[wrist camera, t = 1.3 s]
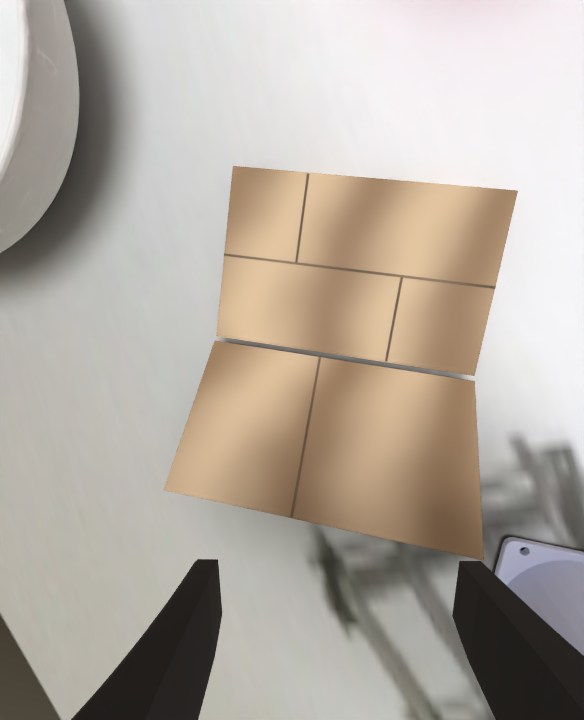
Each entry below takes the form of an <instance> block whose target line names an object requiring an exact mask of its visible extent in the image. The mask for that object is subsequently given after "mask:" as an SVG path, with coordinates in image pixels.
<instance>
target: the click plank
mask: <svg viewBox="0 0 584 720" xmlns="http://www.w3.org/2000/svg"><path fill="white" fill-rule="evenodd" d="M164 490H166V491H171V492H175V493H180V494H184V495H189V496H194V497H198V498H203V499H207V500H212V501H216V502H221V503H225V504H230V505H235V506H239V507H244V508H248V509H253V510H257V511H262V512H266V513H271V514H276V515H280V516H285V517H289V518H294V519H298V520H303V521H307V522H312V523H317V524H321V525H326V526H330V527H335V528H339V529H344V530H349V531H353V532H358V533H362V534H367V535H371V536H376V537H380V538H385V539H390V540H394V541H399V542H403V543H408V544H412V545H417V546H421V547H426V548H431V549H435V550H440V551H444V552H449V553H453V554H458V555H462V556H467V557H472V558H476V559H481V560H484V552H483V533H482V513H481V494H480V475H479V456H478V437H477V418H476V399H475V381H470V380H464V379H457V378H451V377H445V376H438V375H432V374H425V373H419V372H412V371H406V370H400V369H393V368H387V367H380V366H374V365H368V364H361V363H355V362H348V361H342V360H336V359H329V358H323V357H316V356H310V355H304V354H297V353H291V352H284V351H278V350H272V349H265V348H259V347H252V346H246V345H240V344H233V343H227V342H220V341H215V342H214V345H213V347H212V350H211V353H210V356H209V359H208V362H207V365H206V368H205V371H204V374H203V377H202V379H201V382H200V385H199V388H198V391H197V394H196V397H195V400H194V403H193V406H192V408H191V411H190V414H189V417H188V420H187V423H186V426H185V429H184V432H183V435H182V438H181V440H180V443H179V446H178V449H177V452H176V455H175V458H174V461H173V464H172V467H171V470H170V472H169V475H168V478H167V481H166V484H165V487H164Z"/></svg>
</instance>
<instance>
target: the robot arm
mask: <svg viewBox="0 0 584 720" xmlns="http://www.w3.org/2000/svg"><path fill="white" fill-rule="evenodd" d="M523 547H526V548H525V549H524V550H520V549H521V548H523ZM221 617H222V606H221V593H220V580H219V567H218V560H207V559H198V560H197V561H196V562H195V563H194V564H193V566H192V567H191V569H190V570H189V572H188V573H187V575H186V576H185V578H184V579H183V581H182V582H181V584H180V585H179V586H178V588H177V589H176V591H175V592H174V594H173V595H172V596H171V598H170V599H169V601H168V602H167V603H166V605H165V606H164V608H163V609H162V610H161V612H160V613H159V614H158V616H157V617H156V618H155V620H154V621H153V622H152V624H151V625H150V626H149V628H148V629H147V630H146V632H145V633H144V634H143V636H142V637H141V638H140V639H139V641H138V642H137V643H136V644H135V646H134V647H133V648H132V649H131V651H130V652H129V653H128V654H127V656H126V657H125V658H124V659H123V660H122V662H121V663H120V664H119V665H118V667H117V668H116V669H115V670H114V672H113V673H112V674H111V675H110V676H109V677H108V679H107V680H106V681H105V682H104V683H103V684H102V686H101V687H100V688H99V689H98V690H97V691H96V693H95V694H94V695H93V696H92V697H91V698H90V699H89V700H88V702H87V703H86V704H85V705H84V706H83V707H82V708H81V709H80V710H79V712H78V713H77V714H76V715H75V716H74V717H73V718H72V719H71V720H198V717H199V714H200V710H201V706H202V703H203V699H204V695H205V691H206V688H207V684H208V680H209V676H210V672H211V669H212V665H213V661H214V657H215V652H216V646H217V641H218V635H219V629H220V623H221ZM453 619H454V622H455V625H456V627H457V630H458V633H459V636H460V639H461V642H462V644H463V647H464V650H465V652H466V655H467V658H468V660H469V663H470V665H471V667H472V669H473V672H474V674H475V676H476V678H477V680H478V682H479V684H480V687H481V689H482V691H483V693H484V695H485V697H486V700H487V702H488V704H489V706H490V708H491V710H492V712H493V715H494V717H495V719H496V720H584V552H582V551H577V550H572V549H568V548H563V547H558V546H553V545H548V544H544V543H539V542H534V541H529V540H525V539H520V538H515V537H509V538H507V539H505V540H504V542H503V544H502V548H501V552H500V555H499V559H498V563H497V566H496V570H495V574H494V573H493V572H492V571H491V570H490V569H489V568H487V567H486V566H485V565H484V564H483V563H482V562H481V561H460V562H459V570H458V577H457V585H456V593H455V600H454V608H453Z"/></svg>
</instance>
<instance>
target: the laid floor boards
mask: <svg viewBox="0 0 584 720" xmlns="http://www.w3.org/2000/svg"><path fill="white" fill-rule="evenodd" d="M517 192H518V191H515V190H503V189H492V188H480V187H468V186H457V185H445V184H434V183H422V182H411V181H399V180H388V179H376V178H365V177H353V176H341V175H330V174H318V173H307V172H295V171H284V170H272V169H261V168H249V167H238V166H233V171H232V182H231V192H230V202H229V212H228V223H227V233H226V243H225V253H224V263H223V274H222V284H221V294H220V304H219V315H218V325H217V335H216V336H219V337H225V338H232V339H238V340H245V341H251V342H258V343H264V344H271V345H277V346H284V347H290V348H297V349H303V350H310V351H316V352H323V353H329V354H336V355H342V356H349V357H355V358H361V359H368V360H374V361H381V362H387V363H394V364H400V365H407V366H413V367H420V368H426V369H433V370H439V371H446V372H452V373H459V374H465V375H472V376H474V375H475V371H476V367H477V362H478V358H479V354H480V350H481V345H482V341H483V337H484V332H485V328H486V324H487V320H488V315H489V311H490V307H491V303H492V298H493V294H494V290H495V287H496V281H497V277H498V273H499V269H500V264H501V260H502V256H503V251H504V247H505V243H506V239H507V234H508V230H509V226H510V222H511V217H512V213H513V209H514V205H515V200H516V196H517Z"/></svg>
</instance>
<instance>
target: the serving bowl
mask: <svg viewBox="0 0 584 720" xmlns="http://www.w3.org/2000/svg"><path fill="white" fill-rule="evenodd" d="M78 118H79V78H78V67H77V59H76V52H75V46H74V41H73V36H72V31H71V27H70V23H69V18H68V15H67V11H66V7H65V4H64V0H0V253H1V252H3V251H4V250H6V249H7V248H9V247H10V246H12V245H13V244H14V243H16V242H17V241H18V240H19V239H21V238H22V237H23V236H24V235H25V234H26V233H27V232H28V231H29V230H30V229H31V228H32V227H33V226H34V225H35V224H36V223H37V222H38V221H39V220H40V218H41V217H42V216H43V214H44V213H45V212H46V210H47V209H48V207H49V206H50V204H51V203H52V201H53V200H54V198H55V196H56V194H57V192H58V191H59V189H60V186H61V184H62V182H63V180H64V178H65V175H66V173H67V170H68V167H69V164H70V161H71V157H72V154H73V150H74V145H75V140H76V134H77V127H78Z"/></svg>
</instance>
